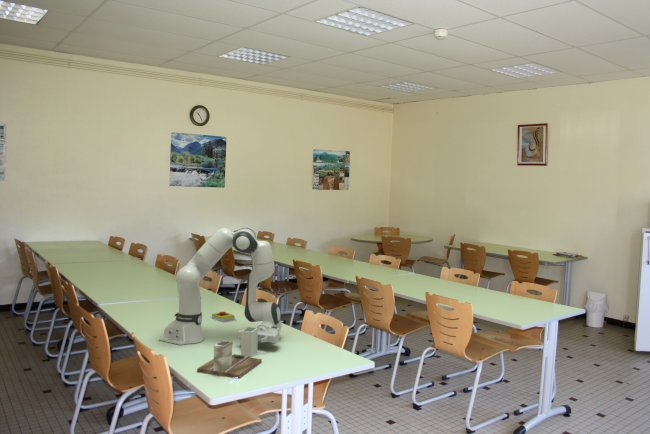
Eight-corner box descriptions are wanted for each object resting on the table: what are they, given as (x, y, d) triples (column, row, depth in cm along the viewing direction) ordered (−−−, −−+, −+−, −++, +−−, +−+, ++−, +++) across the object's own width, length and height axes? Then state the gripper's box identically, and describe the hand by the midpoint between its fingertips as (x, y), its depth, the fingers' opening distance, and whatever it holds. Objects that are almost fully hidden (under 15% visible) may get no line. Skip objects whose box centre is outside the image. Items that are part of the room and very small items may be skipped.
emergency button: (222, 309, 327) (237, 313, 317) (222, 316, 328) (237, 321, 317) (209, 311, 321) (224, 316, 310) (209, 318, 321) (224, 323, 311)
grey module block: (241, 356, 253) (241, 330, 252) (247, 351, 259) (248, 326, 258) (250, 357, 251) (251, 331, 250) (257, 353, 258) (257, 327, 257)
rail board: (197, 371, 230) (197, 342, 229) (222, 356, 251) (222, 329, 250) (239, 378, 224) (240, 348, 223) (261, 362, 244) (262, 334, 244)
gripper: (244, 323, 273) (232, 330, 260) (282, 328, 267) (271, 335, 254) (244, 336, 273) (231, 343, 260) (282, 341, 267) (270, 348, 254)
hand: (251, 339), depth 257 cm, fingers open, 8 cm apart
